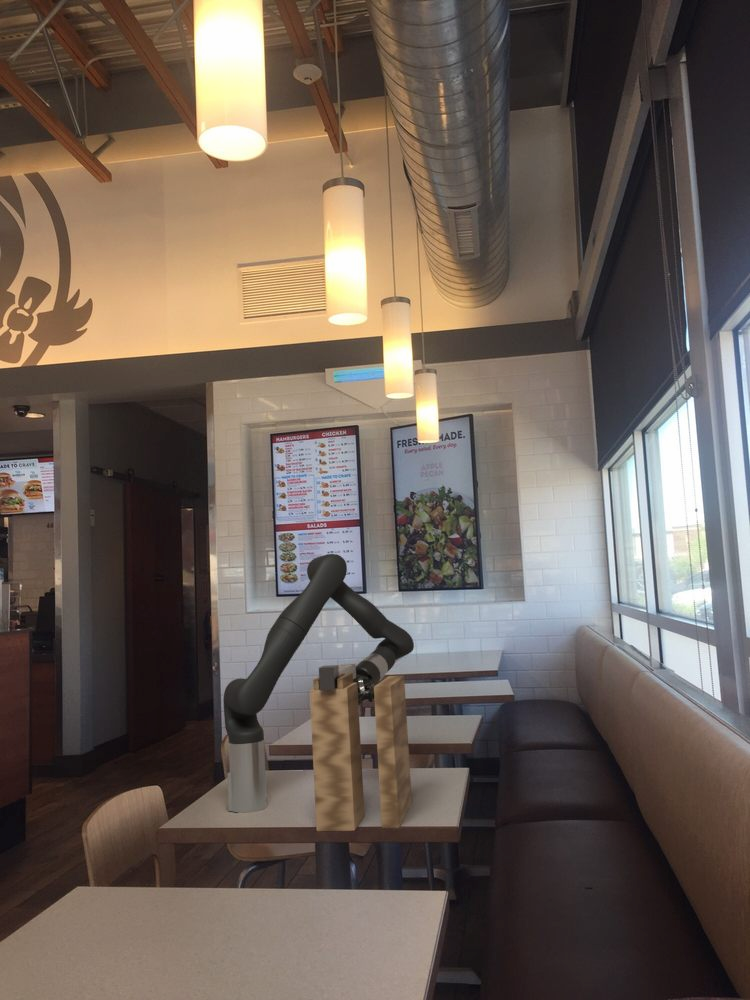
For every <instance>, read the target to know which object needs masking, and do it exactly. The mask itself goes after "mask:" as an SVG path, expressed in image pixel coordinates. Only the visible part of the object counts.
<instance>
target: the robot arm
mask: <svg viewBox="0 0 750 1000" xmlns="http://www.w3.org/2000/svg"><path fill="white" fill-rule="evenodd" d="M347 566H348V565H347V562H346V560H345V558H344V557H342V556H341V555H339V554H337V553H335V554H334V553H328V554H327V553H326V554H324V555H321V556H317V557H315V558H313V559H312V560H310V562H309V563H308V565H307V568H306V575H307V577H308V580H309V582H308V584H307V585H306V586H305V588H304V589H303V591H302V592H301V593H300V594H299V595H298V596H297V597H295V598H294V599H293V600H292V601H291V602H290V603H289V604H288V605H287V606H286V607H285V608H284V610H282V612H281V613H280V614H279V615H278V617H277V619H275V622H274V623H273V625H272V626H271V628H270V629H269V631H268V633H267V635H266V639H265V643H264V647H263V651H262V655H261V656H260V658H259V660H258V662H257V664H256V666H255V667H254V668H253V670H252V672H250V674H249V675H248V677H247V678H242V677H241V678H236V679H232V680H231V681H230V682H229V683H228V684H227V686H226V687H225V689H224V693H223V716H224V727H225V732H226V734H227V736H228V757H229V758H228V759H229V761H228V762H229V771H228V773H227V774H226V779H227V784H226V785H227V802H228V804H227V806H228V810H227V811H228V812H234V813H243V814H244V813H254V812H259V811H262V810H264V809H266V808H267V805H268V804H267V801H268V797H267V780H266V779H267V777H266V757H265V756H266V755H265V753H266V752H265V733H264V731H265V730H264V729H263V727H262V725H261V724H260V722H259V720H258V715H257V714H259V713H260V712H261V711H262V710H263V709H264V707H265V705H267V702H268V701H269V699H270V697H271V695H272V693H273V691H274V688H275V687H276V684H277V683H278V681H279V680H280V679H279V678H280V677H281V675H282V673H283V672H284V670H285V669H286V668H287V666H288V664H289V663H290V661H291V660H292V658H293V656H294V654H296V652H297V651H298V649H299V647H300V646H301V644H302V643H303V641H304V640H305V639H306V638H305V637H306V636H307V635H308V633H309V632H310V630H311V628H312V626H313V625H314V623H315V621H316V620H317V619H318V617H319V615H320V613H322V612H321V611H322V610H323V608H324V606H325V605H326V603H327V602H329V601H328V600H329V599H332V601H334V602H335V603H337V604H338V605H339V606H340V607H341V608H342V609H343V610H344V611H345V612H347V613H348V614H349V615H350V616H351V617H352V618H353V620H355V621H356V623H357V624H358V625H359V626H360V627H361V628H362V629H363V630H364V631H365V632H366V633H367V634H368V635H369V636H370V637H371V638H372V639H383V640H381V641H380V642H379V643H378V644H377V645H376V648H375V649H374V650H373V651H372V652H371V653H369V655H368V656H367V655H366V657H364V658H363V659H362V660H361V661H360V662H359V663H358V664H356V678H355V679H353V683H357V687H358V705H359V706H360V705H361V704H363V702H366V701H368V702H369V703H373V702H374V701H375V699H374V686H376V685H377V684H379V683H380V682H381V681H382V680H383V678H384V677H385V676H386V674H387V673H388V672H389V671H390V670H391V669H392V668H394V665H395V664H396V661H397V660H399V659H402V657H405V656H407V655H409V654H411V653H412V652H413V650H414V648H415V643H414V640H413V638H412V636H411V634H409V632H408V631H406V629H403V628H402V627H400V626H399V625H397V624H395V623H394V622H393V621H391V620H389V619H388V618H387V617H386V616H385V615H384V614H383V613H382V612H381V611H380V610H379V608H377V606H376V605H375V604H374V603H372V602H371V601H370V600H368V599H366V598H365V597H364V596H362V595H361V594H359V593H357V592H356V591H355V590H353V588H351V587H350V586H349V585H347V583H346V582H345V581H344V580H345V579H346V575H347V574H348V573H347V572H348V568H347Z"/></svg>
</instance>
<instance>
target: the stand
mask: <svg viewBox="0 0 750 1000" xmlns="http://www.w3.org/2000/svg"><path fill="white" fill-rule="evenodd" d="M337 683H338V688H337V689H335V690H320V684H319V676H318V677H316V678H314V679H313V688H312V689H309V705H310V724H311V725H310V726H311V742H312V743H311V745H312V761H313V762H312V763H313V765H312V767H313V782H314V785H313V786H314V787H313V788H314V803H315V804H314V805H315V823H316V825H315V827H316V832H330V831H331V832H334V831H335V832H336V831H337V832H339V831H340V832H351V831H353V832H354V831H356V830H357V828H358V826H359V825H360V823H361V822H362V821H363V819H364V818H365V798H364V782H363V766H362V765H363V763H362V745H361V728H360V726H361V725H360V708H359V706H360V705H358V694H359V693H358V687H357V683H353V673H347V674H346V675H344V676H342V677H340V678H338V679H337ZM378 683H379V684H377V685H376V686H374V714H375V730H376V731H375V733H376V746H377V747H376V749H377V765H378V766H377V767H378V784H379V786H378V787H379V800H380V801H379V802H380V804H379V805H380V820H381V821H380V822H381V828H382V829H393V828H394V829H399V828H400V826H401V825H402V823H403V821H404V818H405V817H406V814H407V813H408V811H409V809H410V807H411V805H412V802H413V801H412V800H413V799H412V785H411V784H412V783H411V782H412V781H411V780H412V779H411V768H410V767H411V766H410V748H409V737H408V732H409V731H408V720H407V719H408V717H407V716H408V715H407V704H406V703H407V701H406V686H405V684H406V683H405V675H389V676H386V678H384V679H382V680H380V681H379V682H378Z"/></svg>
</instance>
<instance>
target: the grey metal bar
mask: <svg viewBox="0 0 750 1000" xmlns="http://www.w3.org/2000/svg"><path fill="white" fill-rule="evenodd" d="M356 666H357V664H356V663H342V664H339V665H338V664H335V665H334V664H333V665H332V664H331V665H322V666H320V667H318V677H319V684H320V690H335V689H337V688H338V683H337V679H338V678H340V677H342V676H344V675H346V674H347V673H353V679H355V678H356Z"/></svg>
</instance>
